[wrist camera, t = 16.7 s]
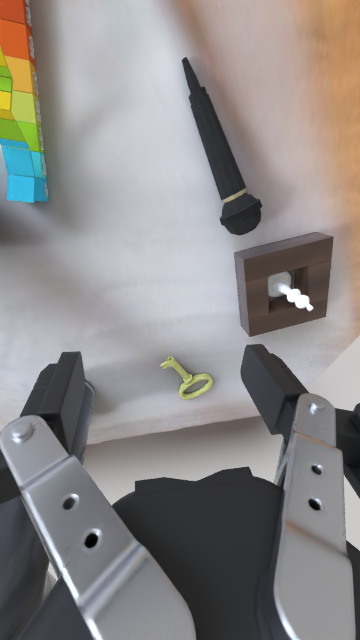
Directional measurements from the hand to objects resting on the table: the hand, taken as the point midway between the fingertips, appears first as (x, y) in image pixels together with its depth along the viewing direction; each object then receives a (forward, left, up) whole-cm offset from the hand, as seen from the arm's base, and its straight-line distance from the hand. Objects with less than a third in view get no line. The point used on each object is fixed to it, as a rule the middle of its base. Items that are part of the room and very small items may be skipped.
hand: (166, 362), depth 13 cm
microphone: (+11, -10, -28) cm, 32 cm away
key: (-25, -8, -28) cm, 39 cm away
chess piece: (-6, -22, -28) cm, 36 cm away
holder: (-6, -22, -28) cm, 36 cm away
